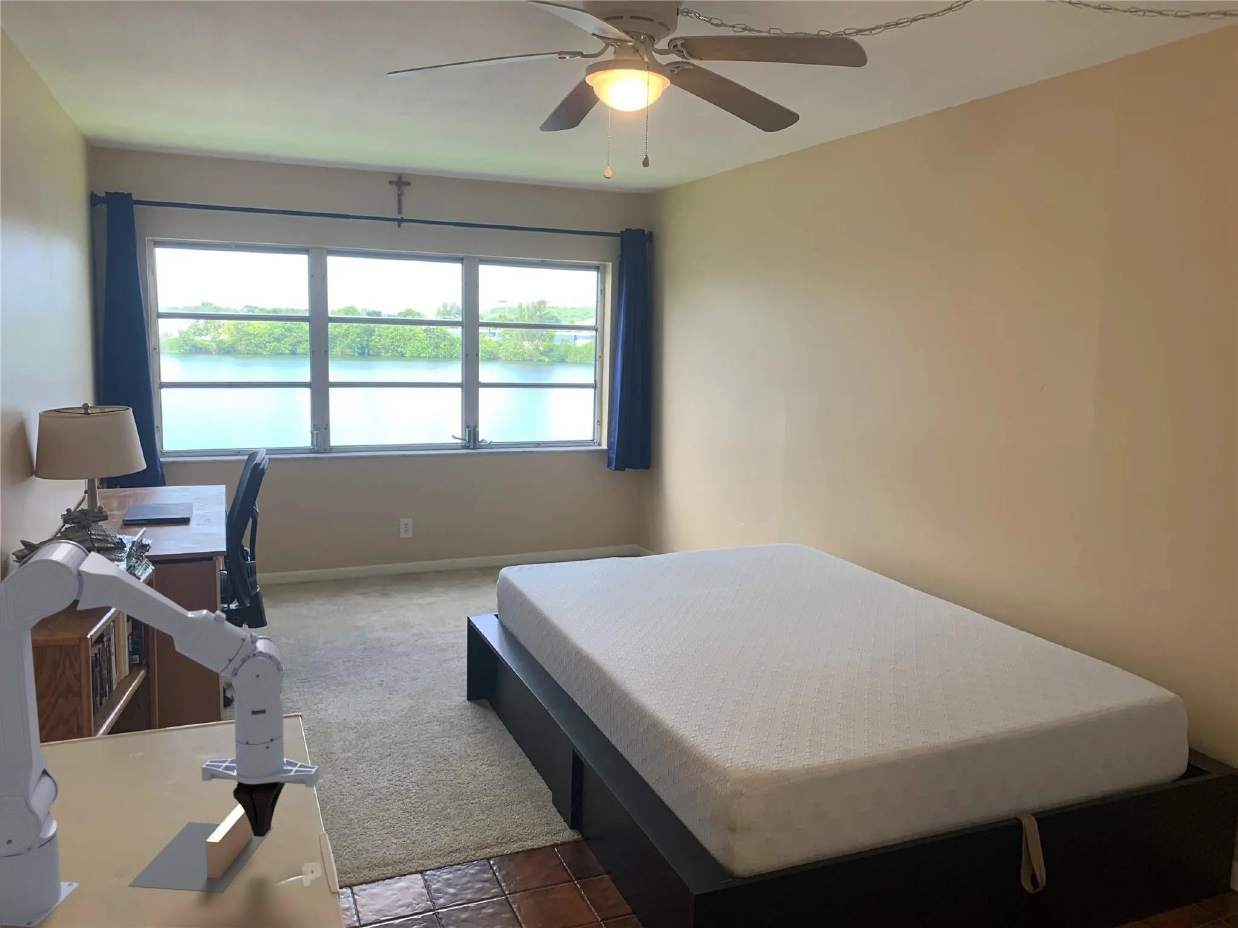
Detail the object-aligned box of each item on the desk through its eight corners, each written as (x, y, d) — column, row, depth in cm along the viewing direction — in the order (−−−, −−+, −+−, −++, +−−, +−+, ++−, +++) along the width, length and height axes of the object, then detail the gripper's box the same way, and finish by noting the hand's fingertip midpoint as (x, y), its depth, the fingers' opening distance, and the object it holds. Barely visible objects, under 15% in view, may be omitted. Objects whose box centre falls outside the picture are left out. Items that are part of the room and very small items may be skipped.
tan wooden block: (207, 877, 109) (205, 840, 108) (241, 836, 118) (240, 802, 117) (219, 878, 109) (218, 841, 108) (252, 836, 117) (251, 802, 117)
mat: (128, 888, 107) (127, 885, 107) (189, 824, 120) (188, 821, 120) (222, 894, 106) (222, 891, 106) (273, 829, 120) (273, 827, 120)
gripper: (327, 723, 114) (328, 818, 116) (219, 717, 114) (223, 811, 117) (305, 749, 107) (307, 849, 109) (191, 742, 107) (195, 842, 110)
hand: (262, 832), depth 112 cm, fingers closed
